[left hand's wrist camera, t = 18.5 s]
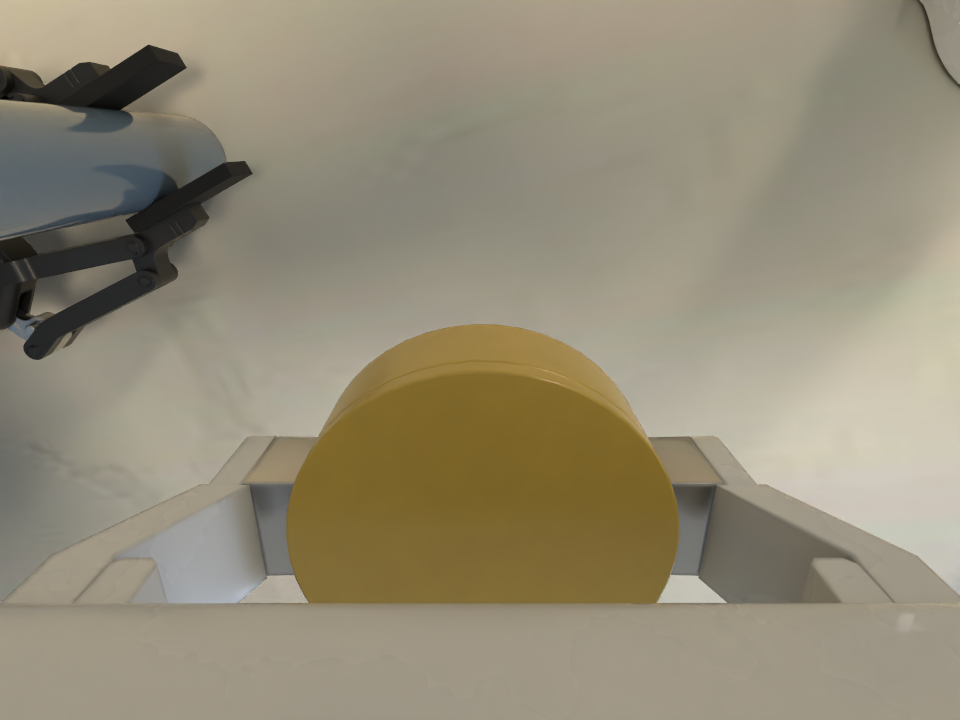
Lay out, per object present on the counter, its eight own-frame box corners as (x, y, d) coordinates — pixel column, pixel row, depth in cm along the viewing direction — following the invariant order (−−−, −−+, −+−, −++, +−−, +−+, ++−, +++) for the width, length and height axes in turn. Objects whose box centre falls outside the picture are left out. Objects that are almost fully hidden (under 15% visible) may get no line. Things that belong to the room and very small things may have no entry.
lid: (327, 587, 11) (294, 678, 9) (316, 310, 9) (271, 354, 7) (613, 604, 11) (639, 697, 9) (672, 336, 9) (723, 387, 7)
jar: (190, 99, 34) (-154, 46, 15) (243, 175, 35) (-11, 209, 17) (128, 143, 35) (-266, 142, 16) (182, 215, 36) (-120, 288, 18)
